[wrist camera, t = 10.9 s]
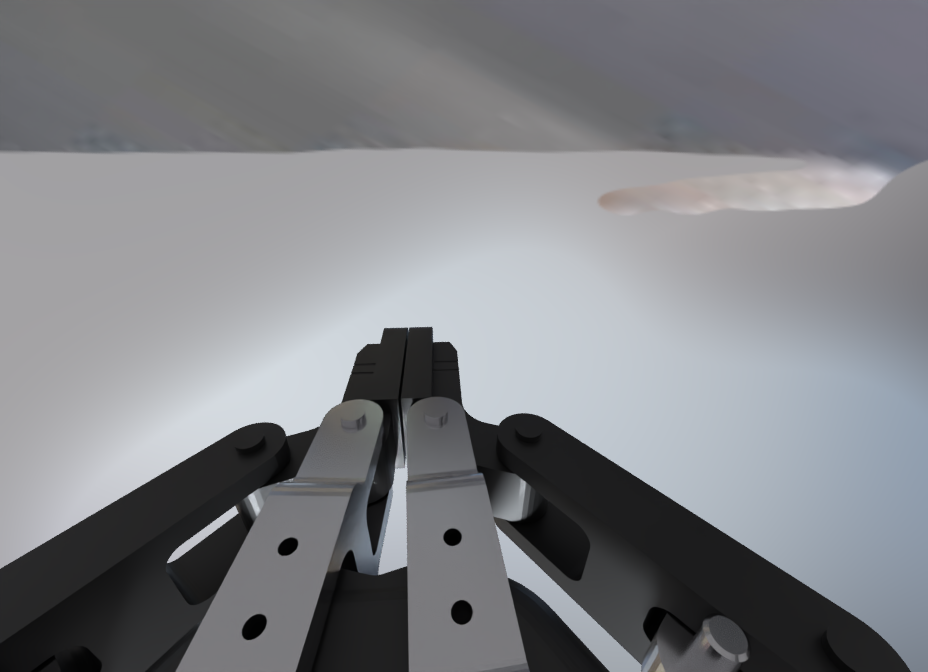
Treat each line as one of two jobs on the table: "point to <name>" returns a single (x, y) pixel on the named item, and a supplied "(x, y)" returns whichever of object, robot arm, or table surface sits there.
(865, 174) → the table surface
